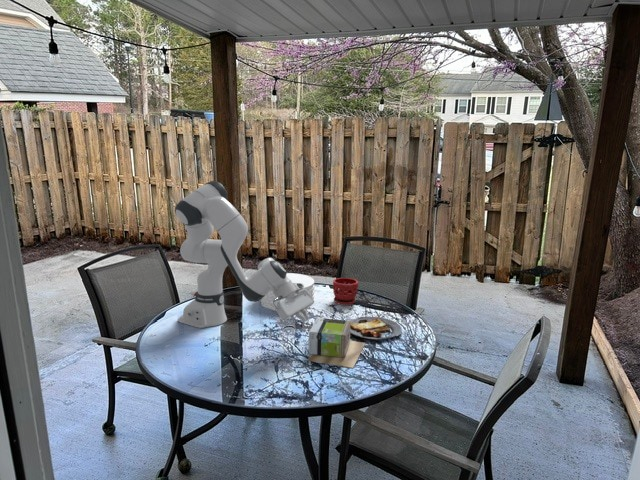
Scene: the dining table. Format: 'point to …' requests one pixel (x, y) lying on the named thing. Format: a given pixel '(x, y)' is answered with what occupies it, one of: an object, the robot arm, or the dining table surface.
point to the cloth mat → (348, 361)
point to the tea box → (329, 337)
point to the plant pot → (345, 290)
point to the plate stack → (295, 278)
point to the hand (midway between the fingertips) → (306, 320)
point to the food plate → (374, 327)
